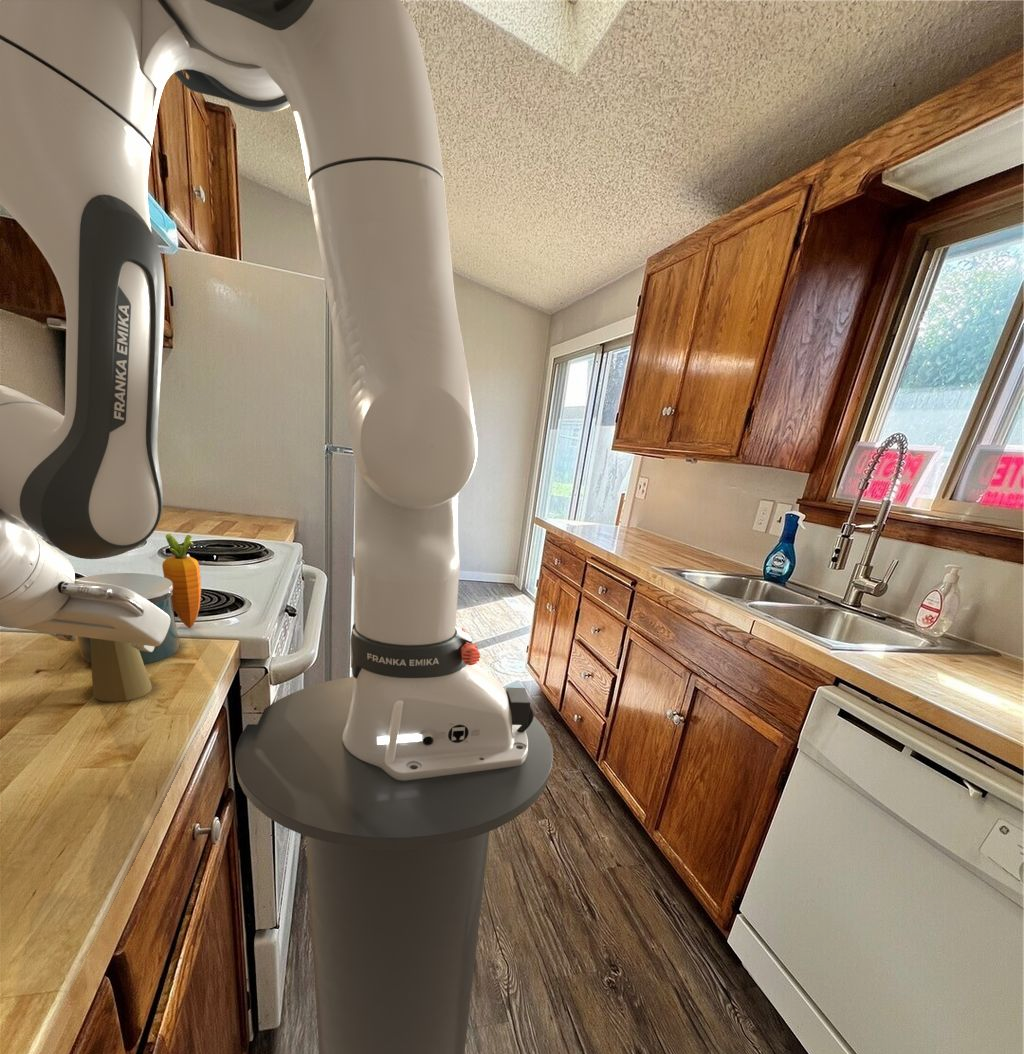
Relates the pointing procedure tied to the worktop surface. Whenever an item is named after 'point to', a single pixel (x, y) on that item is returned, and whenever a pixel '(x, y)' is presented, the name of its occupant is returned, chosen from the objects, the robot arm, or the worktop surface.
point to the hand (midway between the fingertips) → (110, 640)
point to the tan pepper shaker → (117, 671)
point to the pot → (155, 592)
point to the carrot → (183, 580)
